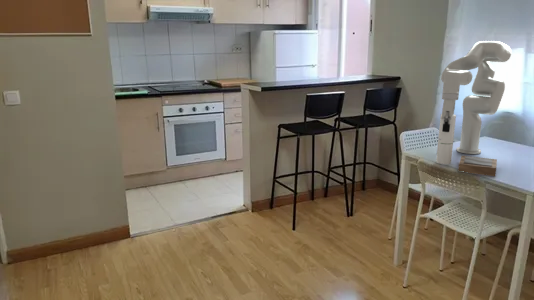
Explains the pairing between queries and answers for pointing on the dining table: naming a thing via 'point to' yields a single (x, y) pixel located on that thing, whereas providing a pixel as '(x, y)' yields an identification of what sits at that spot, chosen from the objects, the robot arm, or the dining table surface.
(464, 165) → the walnut base
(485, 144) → the dining table surface
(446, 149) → the cylindrical container
